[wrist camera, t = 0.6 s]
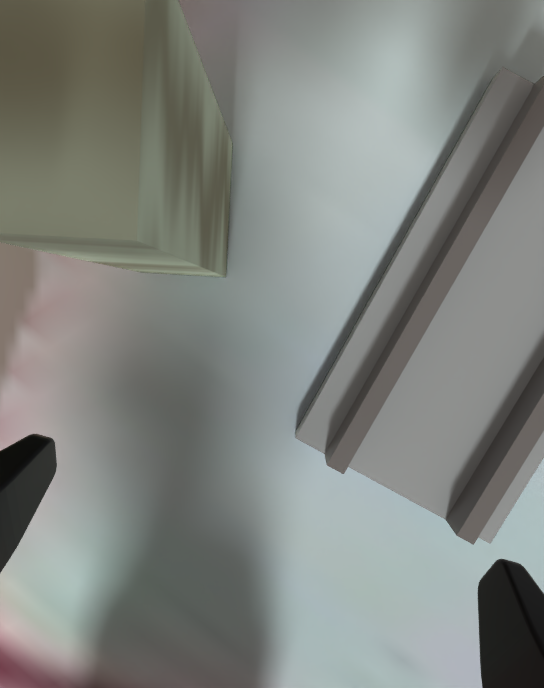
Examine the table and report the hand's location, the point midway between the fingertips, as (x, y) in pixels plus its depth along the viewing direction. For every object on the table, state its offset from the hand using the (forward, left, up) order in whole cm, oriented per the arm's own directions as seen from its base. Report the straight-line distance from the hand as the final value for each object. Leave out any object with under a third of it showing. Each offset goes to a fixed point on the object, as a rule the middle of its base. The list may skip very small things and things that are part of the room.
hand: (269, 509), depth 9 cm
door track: (+8, -5, -13) cm, 16 cm away
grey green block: (+4, +9, -13) cm, 16 cm away
